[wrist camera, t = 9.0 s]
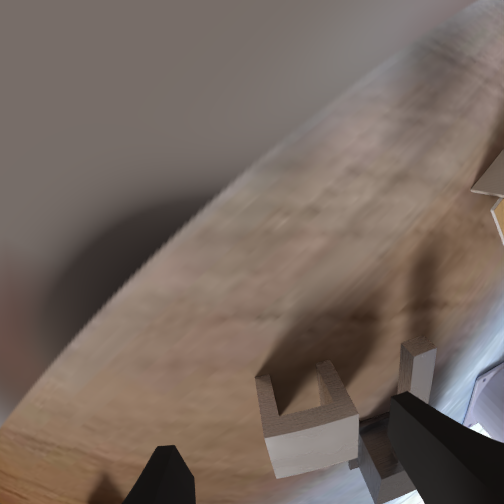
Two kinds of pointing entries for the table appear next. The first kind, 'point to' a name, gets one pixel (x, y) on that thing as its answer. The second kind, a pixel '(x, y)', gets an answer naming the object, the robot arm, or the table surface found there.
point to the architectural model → (494, 190)
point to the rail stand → (375, 429)
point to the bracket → (310, 427)
